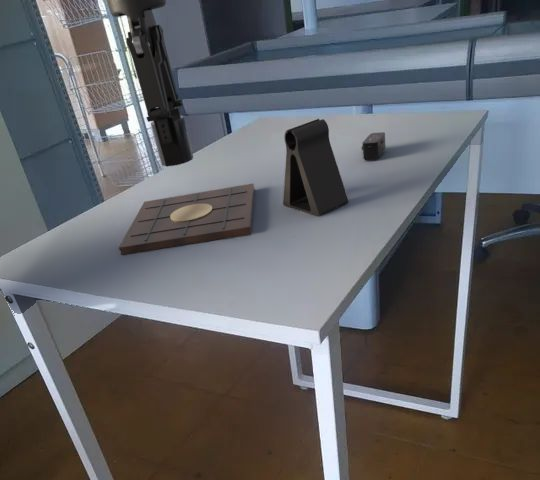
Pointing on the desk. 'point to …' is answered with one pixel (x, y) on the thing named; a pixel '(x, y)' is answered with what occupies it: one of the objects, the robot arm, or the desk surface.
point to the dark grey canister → (182, 138)
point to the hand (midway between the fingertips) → (178, 158)
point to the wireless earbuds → (373, 146)
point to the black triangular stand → (312, 170)
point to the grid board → (191, 219)
